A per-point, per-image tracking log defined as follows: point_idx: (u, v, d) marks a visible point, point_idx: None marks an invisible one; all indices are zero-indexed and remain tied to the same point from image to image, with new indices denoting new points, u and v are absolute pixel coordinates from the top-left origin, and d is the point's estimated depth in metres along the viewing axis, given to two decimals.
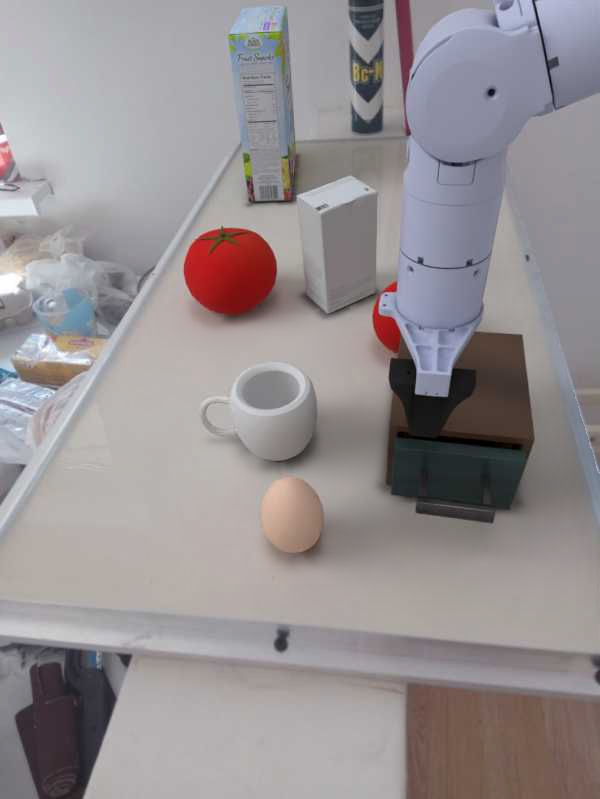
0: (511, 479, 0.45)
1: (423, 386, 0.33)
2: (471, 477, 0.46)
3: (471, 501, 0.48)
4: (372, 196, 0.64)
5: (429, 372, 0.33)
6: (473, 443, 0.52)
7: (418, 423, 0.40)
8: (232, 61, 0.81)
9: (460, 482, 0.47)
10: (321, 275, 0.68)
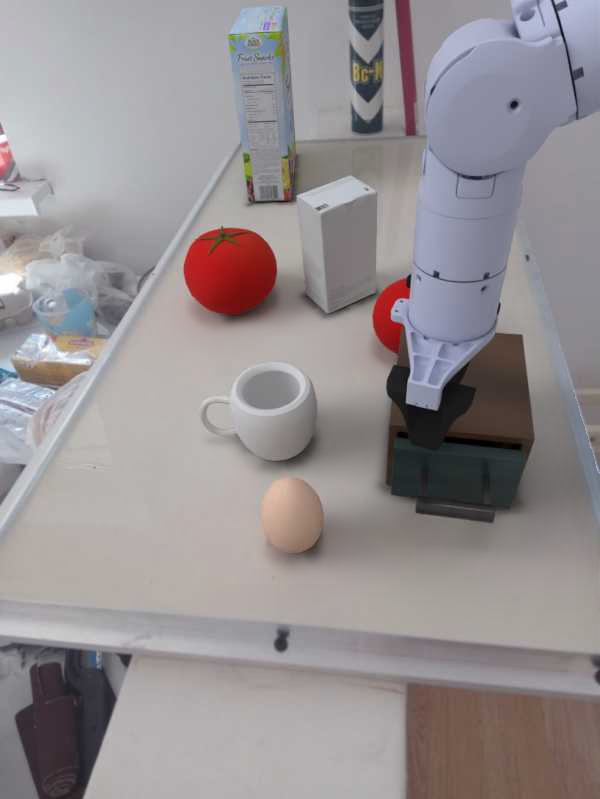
0: (511, 479, 0.45)
1: (413, 396, 0.33)
2: (471, 477, 0.46)
3: (471, 501, 0.48)
4: (372, 196, 0.64)
5: (419, 383, 0.32)
6: (473, 443, 0.52)
7: (418, 433, 0.40)
8: (232, 61, 0.81)
9: (460, 482, 0.47)
10: (321, 275, 0.68)
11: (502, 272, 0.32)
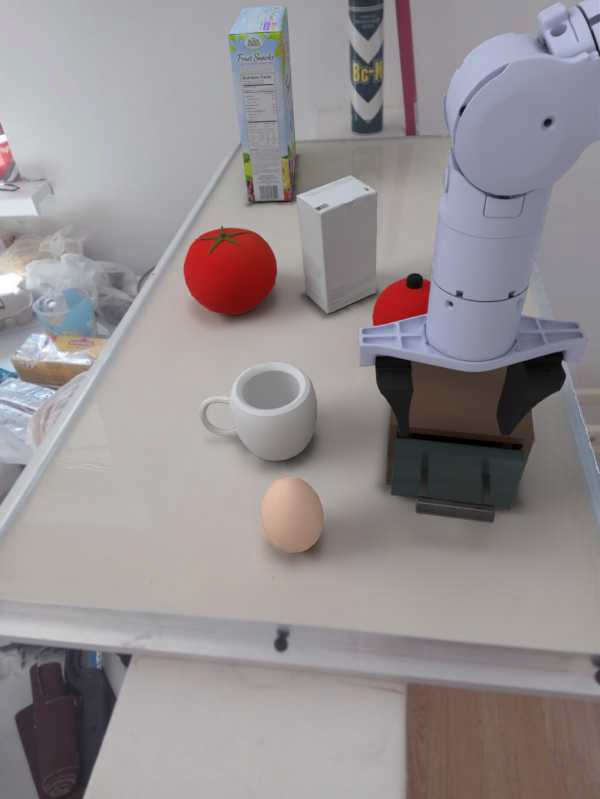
0: (511, 479, 0.45)
1: None
2: (471, 477, 0.46)
3: (471, 501, 0.48)
4: (372, 196, 0.64)
5: (360, 333, 0.37)
6: (473, 443, 0.52)
7: None
8: (232, 61, 0.81)
9: (460, 482, 0.47)
10: (321, 275, 0.68)
11: (473, 303, 0.31)
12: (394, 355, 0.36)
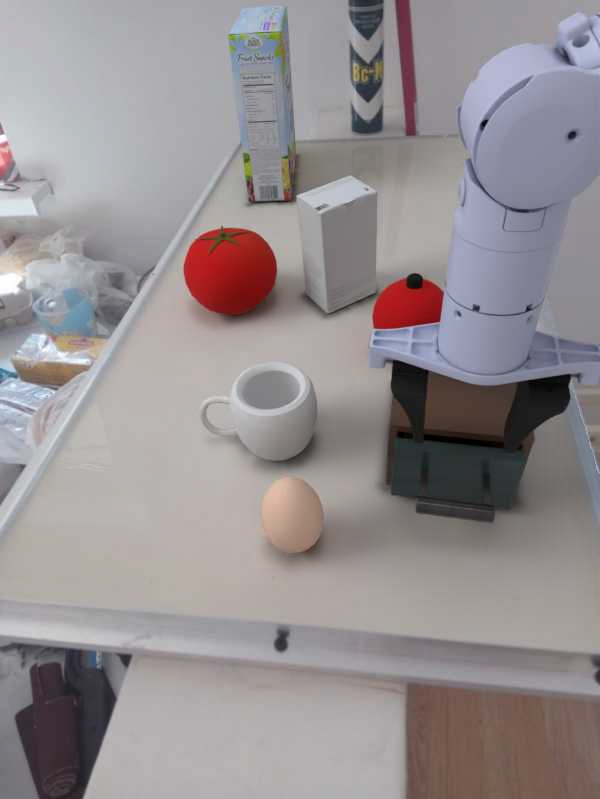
0: (511, 479, 0.45)
1: None
2: (471, 477, 0.46)
3: (471, 501, 0.48)
4: (372, 196, 0.64)
5: (372, 335, 0.37)
6: (473, 443, 0.52)
7: None
8: (232, 61, 0.81)
9: (460, 482, 0.47)
10: (321, 275, 0.68)
11: (480, 315, 0.31)
12: (402, 360, 0.36)
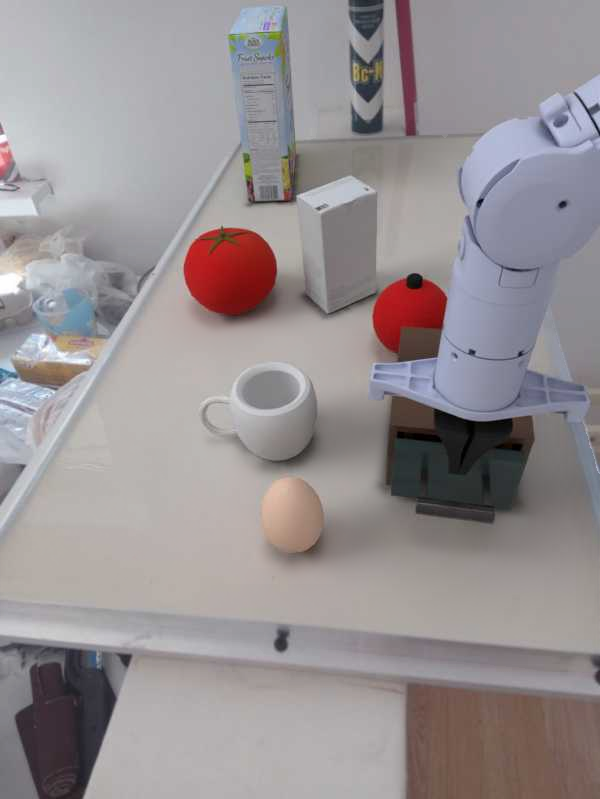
0: (511, 480, 0.45)
1: None
2: (471, 478, 0.46)
3: (471, 502, 0.48)
4: (372, 196, 0.64)
5: (372, 368, 0.39)
6: None
7: None
8: (232, 61, 0.81)
9: (460, 483, 0.46)
10: (321, 275, 0.68)
11: (475, 358, 0.33)
12: (401, 394, 0.38)
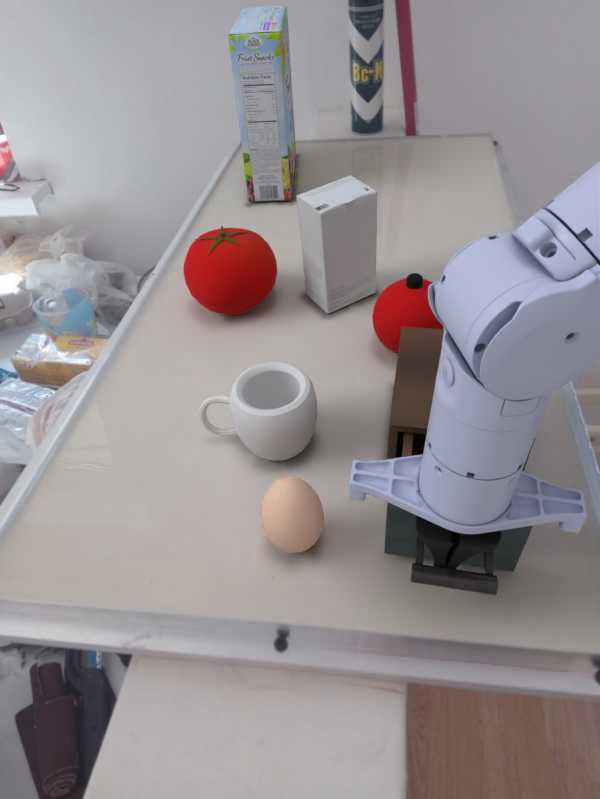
0: (516, 543, 0.41)
1: None
2: None
3: (472, 562, 0.44)
4: (372, 196, 0.64)
5: (353, 468, 0.36)
6: None
7: None
8: (232, 61, 0.81)
9: None
10: (321, 275, 0.68)
11: (461, 477, 0.30)
12: (382, 498, 0.35)
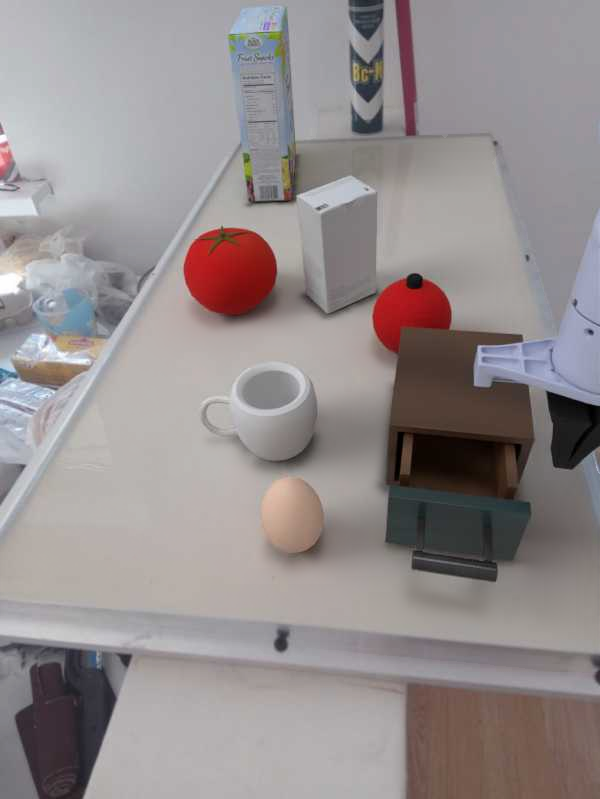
0: (515, 531, 0.41)
1: (475, 362, 0.36)
2: (472, 528, 0.42)
3: (472, 551, 0.45)
4: (372, 196, 0.64)
5: (479, 352, 0.35)
6: (474, 485, 0.49)
7: (554, 438, 0.39)
8: (232, 61, 0.81)
9: (460, 533, 0.43)
10: (321, 275, 0.68)
11: None
12: (515, 379, 0.34)
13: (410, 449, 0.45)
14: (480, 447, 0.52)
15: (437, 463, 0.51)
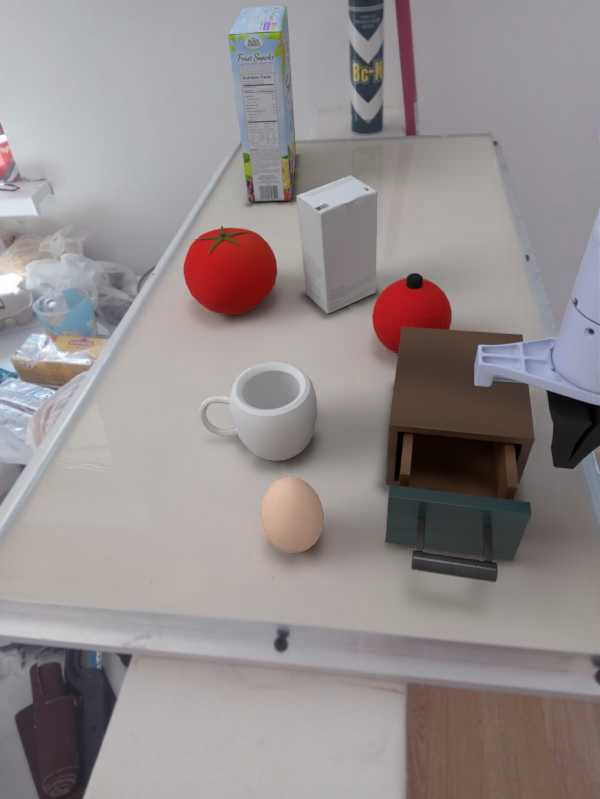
0: (515, 531, 0.41)
1: (475, 361, 0.36)
2: (472, 528, 0.42)
3: (472, 551, 0.45)
4: (372, 196, 0.64)
5: (479, 351, 0.35)
6: (474, 485, 0.49)
7: (554, 437, 0.39)
8: (232, 61, 0.81)
9: (460, 533, 0.43)
10: (321, 275, 0.68)
11: None
12: (515, 378, 0.34)
13: (410, 449, 0.45)
14: (480, 447, 0.52)
15: (437, 463, 0.51)
